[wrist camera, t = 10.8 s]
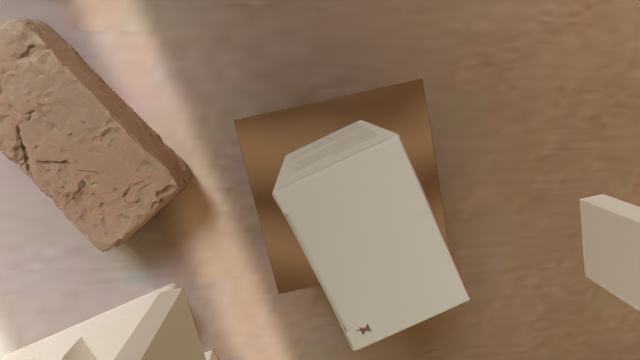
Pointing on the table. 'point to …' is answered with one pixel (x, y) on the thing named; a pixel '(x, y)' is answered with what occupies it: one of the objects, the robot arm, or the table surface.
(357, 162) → the small box
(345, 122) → the brown flat-topped fixture
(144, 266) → the table surface
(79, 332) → the block with arch cutout
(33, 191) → the table surface
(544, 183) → the table surface
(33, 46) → the brick
